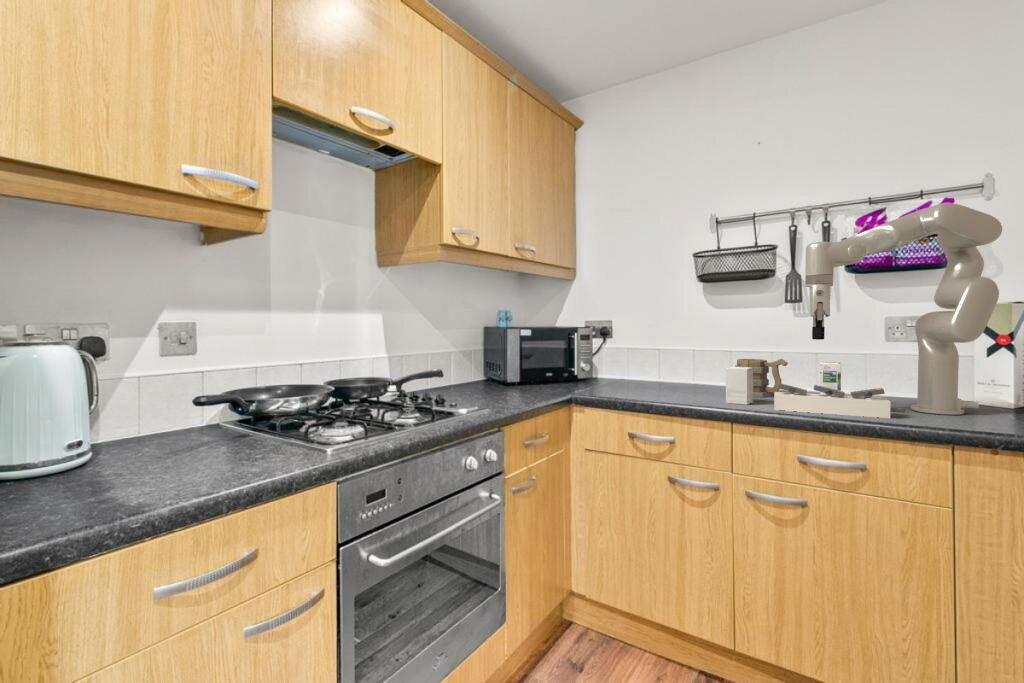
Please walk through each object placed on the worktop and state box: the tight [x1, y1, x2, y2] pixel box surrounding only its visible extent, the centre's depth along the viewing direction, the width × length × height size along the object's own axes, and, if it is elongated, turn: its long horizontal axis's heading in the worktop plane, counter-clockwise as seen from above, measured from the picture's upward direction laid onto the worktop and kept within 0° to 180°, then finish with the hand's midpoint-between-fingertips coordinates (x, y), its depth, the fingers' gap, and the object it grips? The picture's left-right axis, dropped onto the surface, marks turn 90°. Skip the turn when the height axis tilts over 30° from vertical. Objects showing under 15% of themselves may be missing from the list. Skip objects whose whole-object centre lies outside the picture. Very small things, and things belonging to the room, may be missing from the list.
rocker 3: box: [850, 387, 886, 398], centre depth 147 cm, size 8×4×2 cm, turn 61°
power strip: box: [773, 391, 906, 419], centre depth 151 cm, size 34×8×5 cm, turn 61°
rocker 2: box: [813, 384, 846, 397], centre depth 152 cm, size 8×4×2 cm, turn 61°
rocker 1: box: [778, 382, 808, 395], centre depth 157 cm, size 8×4×2 cm, turn 61°
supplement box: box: [725, 366, 754, 406], centre depth 170 cm, size 7×7×13 cm
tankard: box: [734, 358, 788, 398], centre depth 186 cm, size 20×13×15 cm, turn 30°
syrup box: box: [819, 361, 842, 395], centre depth 168 cm, size 6×6×14 cm
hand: (818, 339), depth 153 cm, fingers closed
